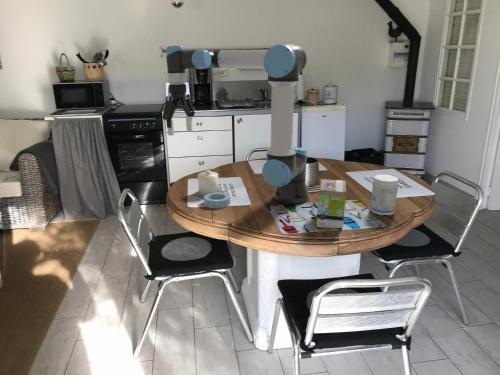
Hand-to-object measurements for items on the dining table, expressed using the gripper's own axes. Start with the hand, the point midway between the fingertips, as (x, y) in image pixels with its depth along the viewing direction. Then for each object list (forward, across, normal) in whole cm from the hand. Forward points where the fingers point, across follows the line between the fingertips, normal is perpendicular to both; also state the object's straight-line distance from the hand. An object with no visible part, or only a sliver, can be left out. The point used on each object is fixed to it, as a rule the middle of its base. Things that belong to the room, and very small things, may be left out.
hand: (180, 133), depth 184 cm
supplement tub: (+31, -18, +85) cm, 93 cm away
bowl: (+28, +6, +22) cm, 36 cm away
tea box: (+31, +1, +69) cm, 76 cm away
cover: (+27, -3, +11) cm, 30 cm away
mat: (+28, -3, +11) cm, 30 cm away
